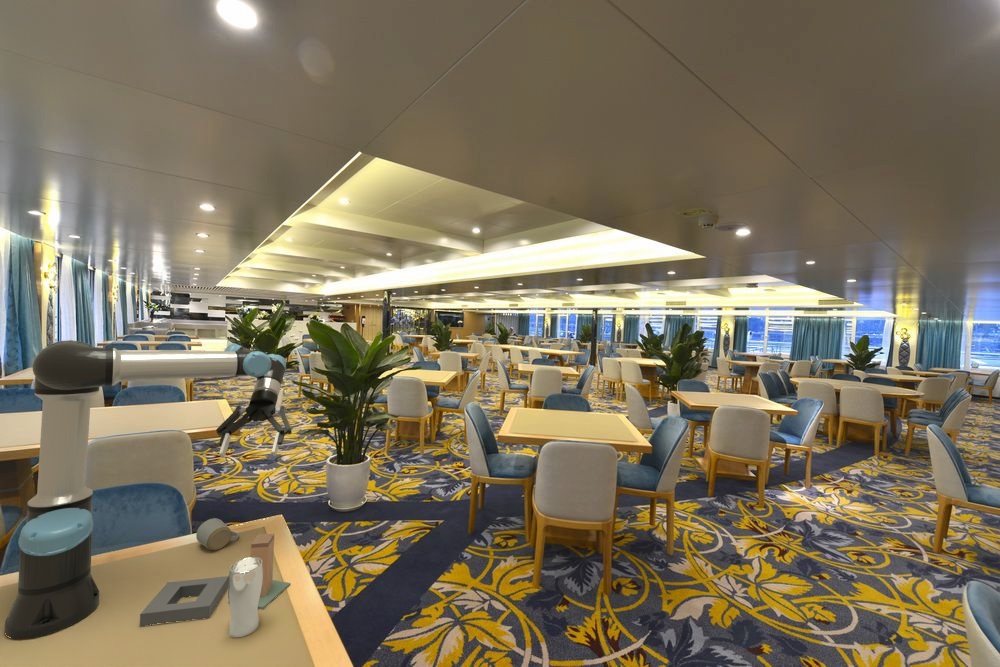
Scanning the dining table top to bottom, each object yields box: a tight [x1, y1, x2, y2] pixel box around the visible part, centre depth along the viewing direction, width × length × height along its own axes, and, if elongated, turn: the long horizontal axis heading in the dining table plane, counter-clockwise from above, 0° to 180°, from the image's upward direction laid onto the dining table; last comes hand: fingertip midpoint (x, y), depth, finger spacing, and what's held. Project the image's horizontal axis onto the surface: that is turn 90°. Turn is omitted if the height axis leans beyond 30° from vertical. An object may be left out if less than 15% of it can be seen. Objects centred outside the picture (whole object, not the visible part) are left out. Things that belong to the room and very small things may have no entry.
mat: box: [228, 579, 291, 610], centre depth 107 cm, size 10×10×1 cm
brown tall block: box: [250, 533, 275, 597], centre depth 107 cm, size 4×5×14 cm
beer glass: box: [227, 556, 263, 639], centre depth 95 cm, size 7×7×15 cm
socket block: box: [139, 575, 229, 627], centre depth 102 cm, size 14×12×3 cm
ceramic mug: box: [195, 517, 240, 551], centre depth 130 cm, size 11×8×8 cm
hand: (248, 454), depth 119 cm, fingers open, 13 cm apart
